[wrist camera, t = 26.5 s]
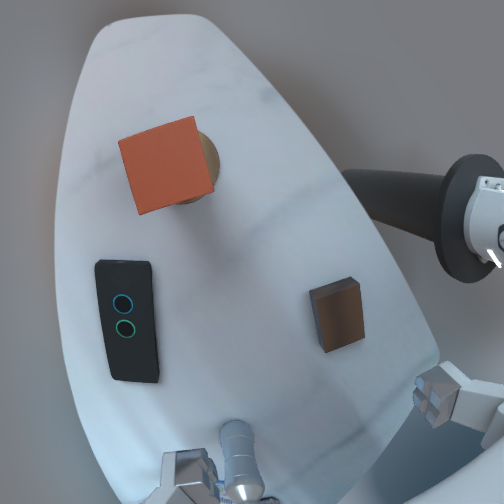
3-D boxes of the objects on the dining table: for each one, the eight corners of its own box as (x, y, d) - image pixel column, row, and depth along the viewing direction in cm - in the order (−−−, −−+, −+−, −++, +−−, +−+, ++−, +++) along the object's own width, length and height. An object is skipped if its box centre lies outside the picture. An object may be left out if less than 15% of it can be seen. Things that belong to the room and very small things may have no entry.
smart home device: (150, 265, 38) (159, 384, 43) (152, 261, 39) (161, 377, 45) (92, 262, 36) (111, 380, 42) (96, 259, 38) (113, 373, 43)
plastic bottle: (229, 441, 51) (242, 524, 32) (210, 424, 49) (218, 514, 30) (258, 429, 51) (279, 514, 32) (240, 411, 49) (258, 503, 30)
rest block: (350, 276, 44) (359, 283, 42) (357, 329, 47) (365, 337, 45) (308, 290, 44) (315, 298, 41) (319, 343, 47) (325, 353, 44)
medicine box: (240, 483, 56) (245, 511, 48) (232, 490, 57) (236, 517, 49) (210, 478, 54) (213, 507, 46) (203, 486, 55) (205, 513, 47)
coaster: (207, 118, 36) (207, 117, 35) (228, 191, 38) (228, 191, 38) (134, 141, 35) (133, 141, 34) (154, 213, 38) (154, 214, 37)
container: (212, 183, 37) (198, 134, 35) (214, 191, 24) (193, 115, 22) (162, 199, 37) (148, 150, 35) (139, 215, 24) (117, 141, 22)
